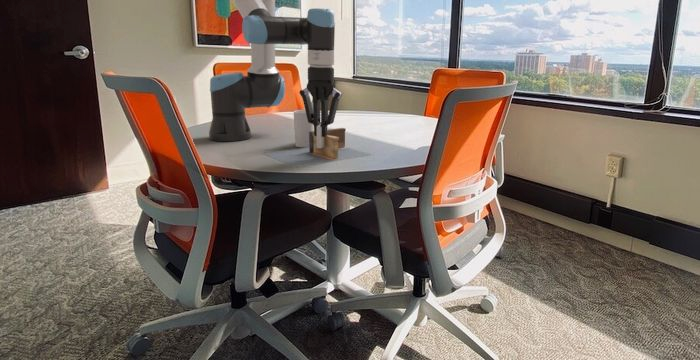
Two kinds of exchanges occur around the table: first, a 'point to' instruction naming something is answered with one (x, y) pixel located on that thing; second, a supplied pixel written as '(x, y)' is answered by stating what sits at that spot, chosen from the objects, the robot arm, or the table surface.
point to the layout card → (312, 156)
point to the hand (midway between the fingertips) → (320, 147)
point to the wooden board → (327, 146)
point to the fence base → (333, 132)
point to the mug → (302, 128)
